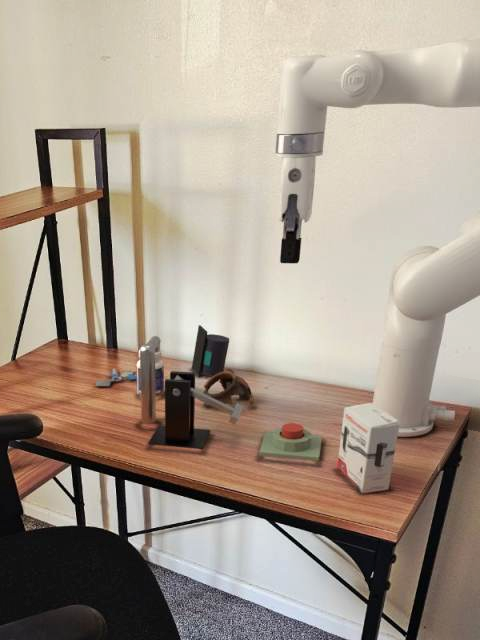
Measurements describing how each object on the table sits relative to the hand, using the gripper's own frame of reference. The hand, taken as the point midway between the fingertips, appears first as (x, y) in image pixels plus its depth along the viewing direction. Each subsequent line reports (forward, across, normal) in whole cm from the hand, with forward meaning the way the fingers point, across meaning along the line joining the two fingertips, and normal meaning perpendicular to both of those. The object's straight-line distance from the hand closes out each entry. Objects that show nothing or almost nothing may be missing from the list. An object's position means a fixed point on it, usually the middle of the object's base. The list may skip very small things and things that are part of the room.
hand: (289, 262), depth 125 cm
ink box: (+29, -24, -16) cm, 41 cm away
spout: (+29, -8, +24) cm, 38 cm away
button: (+26, -16, -4) cm, 31 cm away
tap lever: (+21, -16, +12) cm, 29 cm away
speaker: (+29, +21, +17) cm, 40 cm away
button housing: (+29, -16, -4) cm, 33 cm away
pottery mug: (+29, +3, +10) cm, 31 cm away
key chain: (+29, +14, +37) cm, 49 cm away
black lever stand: (+29, -16, +16) cm, 37 cm away
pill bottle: (+29, +5, +27) cm, 40 cm away
